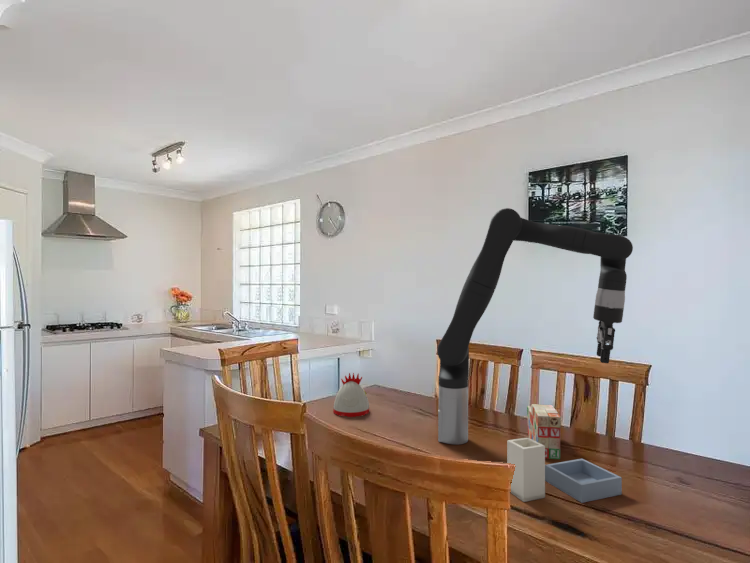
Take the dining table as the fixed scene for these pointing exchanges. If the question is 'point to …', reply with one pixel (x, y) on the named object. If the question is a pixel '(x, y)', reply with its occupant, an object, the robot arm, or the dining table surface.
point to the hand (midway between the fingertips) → (602, 359)
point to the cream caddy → (527, 468)
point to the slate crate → (583, 480)
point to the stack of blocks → (545, 428)
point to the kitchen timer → (351, 398)
